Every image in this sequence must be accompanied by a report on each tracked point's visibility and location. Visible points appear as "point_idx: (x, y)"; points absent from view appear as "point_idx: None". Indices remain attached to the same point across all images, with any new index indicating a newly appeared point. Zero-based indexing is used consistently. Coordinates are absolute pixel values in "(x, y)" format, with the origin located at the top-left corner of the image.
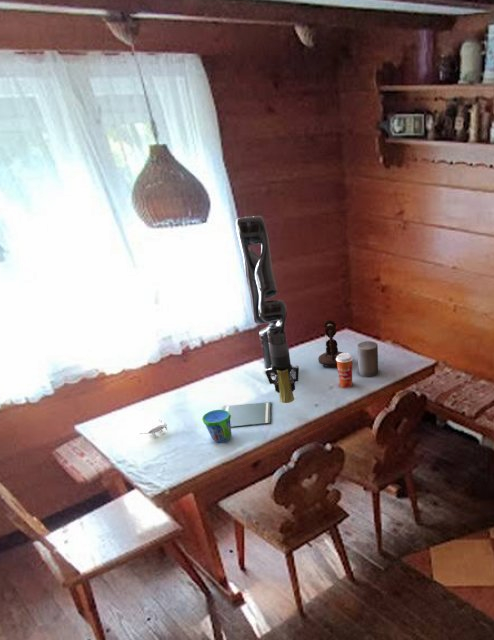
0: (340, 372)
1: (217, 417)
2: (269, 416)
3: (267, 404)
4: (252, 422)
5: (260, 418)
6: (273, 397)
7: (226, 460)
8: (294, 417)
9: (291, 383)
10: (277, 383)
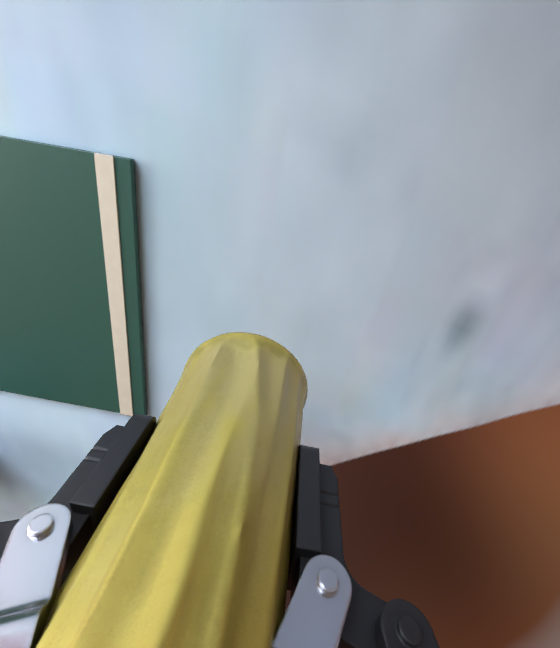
0: None
1: None
2: (138, 360)
3: (109, 196)
4: (50, 384)
5: (87, 361)
6: (155, 38)
7: None
8: None
9: (290, 583)
10: (91, 521)
